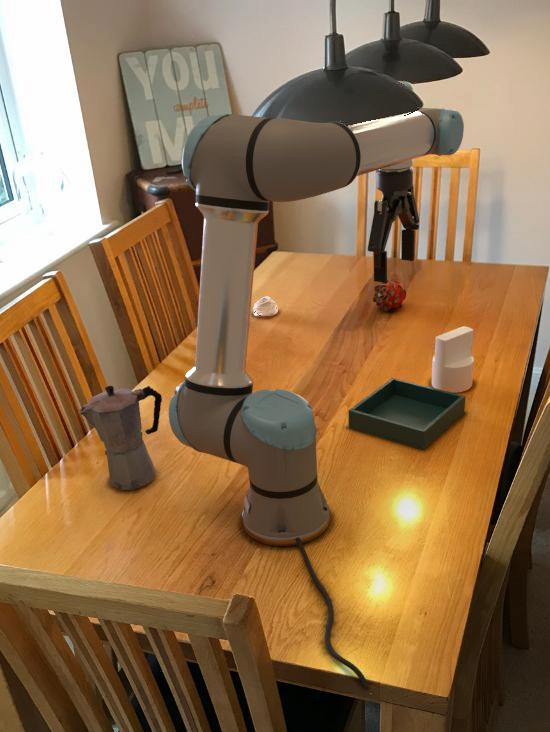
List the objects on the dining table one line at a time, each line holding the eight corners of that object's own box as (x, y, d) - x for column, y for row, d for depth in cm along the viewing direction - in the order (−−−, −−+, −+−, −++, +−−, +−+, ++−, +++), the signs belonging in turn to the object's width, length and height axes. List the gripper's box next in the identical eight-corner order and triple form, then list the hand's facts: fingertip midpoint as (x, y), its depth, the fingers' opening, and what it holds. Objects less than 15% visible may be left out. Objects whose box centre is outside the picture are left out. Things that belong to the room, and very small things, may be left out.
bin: (464, 413, 176) (465, 395, 174) (423, 450, 165) (424, 431, 163) (392, 394, 185) (392, 377, 183) (348, 427, 174) (348, 410, 172)
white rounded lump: (273, 322, 226) (273, 306, 223) (249, 320, 227) (249, 303, 224) (279, 309, 232) (280, 293, 229) (256, 307, 233) (256, 290, 230)
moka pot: (89, 478, 164) (68, 385, 152) (163, 456, 169) (148, 364, 158) (103, 501, 156) (82, 405, 145) (180, 477, 162) (165, 383, 150)
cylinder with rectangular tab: (451, 396, 183) (454, 345, 176) (423, 383, 189) (424, 333, 182) (480, 384, 187) (484, 333, 180) (451, 371, 193) (454, 321, 186)
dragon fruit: (380, 322, 223) (392, 312, 233) (406, 305, 219) (417, 295, 229) (363, 294, 222) (375, 285, 232) (389, 277, 217) (400, 269, 227)
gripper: (383, 186, 159) (384, 293, 171) (436, 153, 175) (433, 253, 188) (348, 183, 162) (352, 288, 174) (403, 151, 179) (403, 249, 191)
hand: (394, 270), depth 181 cm, fingers open, 13 cm apart
